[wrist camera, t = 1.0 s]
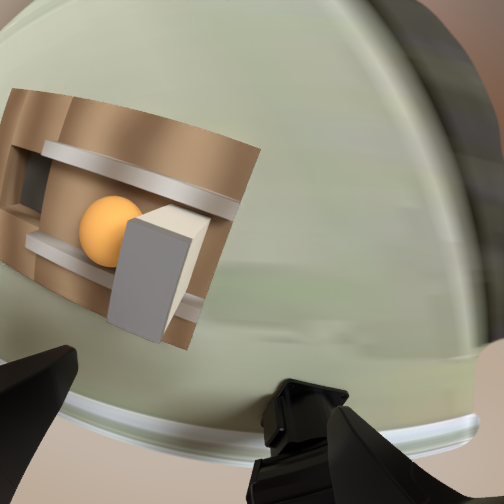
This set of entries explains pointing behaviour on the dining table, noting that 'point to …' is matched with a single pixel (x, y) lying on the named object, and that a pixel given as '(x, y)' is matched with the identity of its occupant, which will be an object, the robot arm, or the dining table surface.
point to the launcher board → (109, 190)
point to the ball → (106, 228)
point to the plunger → (155, 269)
